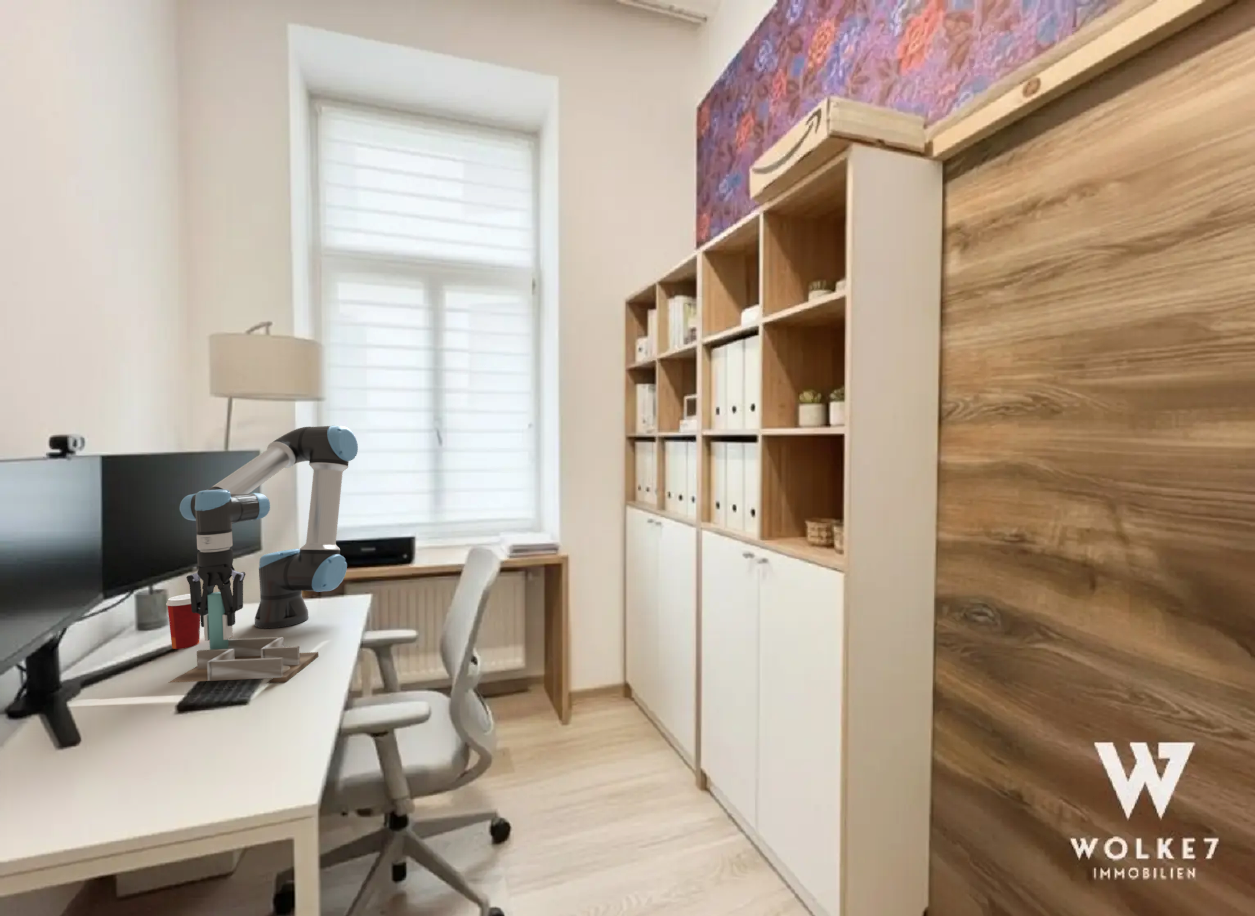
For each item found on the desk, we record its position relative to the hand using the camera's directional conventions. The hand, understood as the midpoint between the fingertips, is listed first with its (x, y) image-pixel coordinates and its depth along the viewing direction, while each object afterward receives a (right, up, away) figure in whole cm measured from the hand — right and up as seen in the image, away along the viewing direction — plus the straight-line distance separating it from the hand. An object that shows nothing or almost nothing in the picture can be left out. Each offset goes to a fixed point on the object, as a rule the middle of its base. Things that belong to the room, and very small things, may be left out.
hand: (218, 638), depth 151 cm
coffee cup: (-19, -8, +14) cm, 25 cm away
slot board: (+10, -7, -3) cm, 13 cm away
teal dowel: (0, -4, 0) cm, 4 cm away
